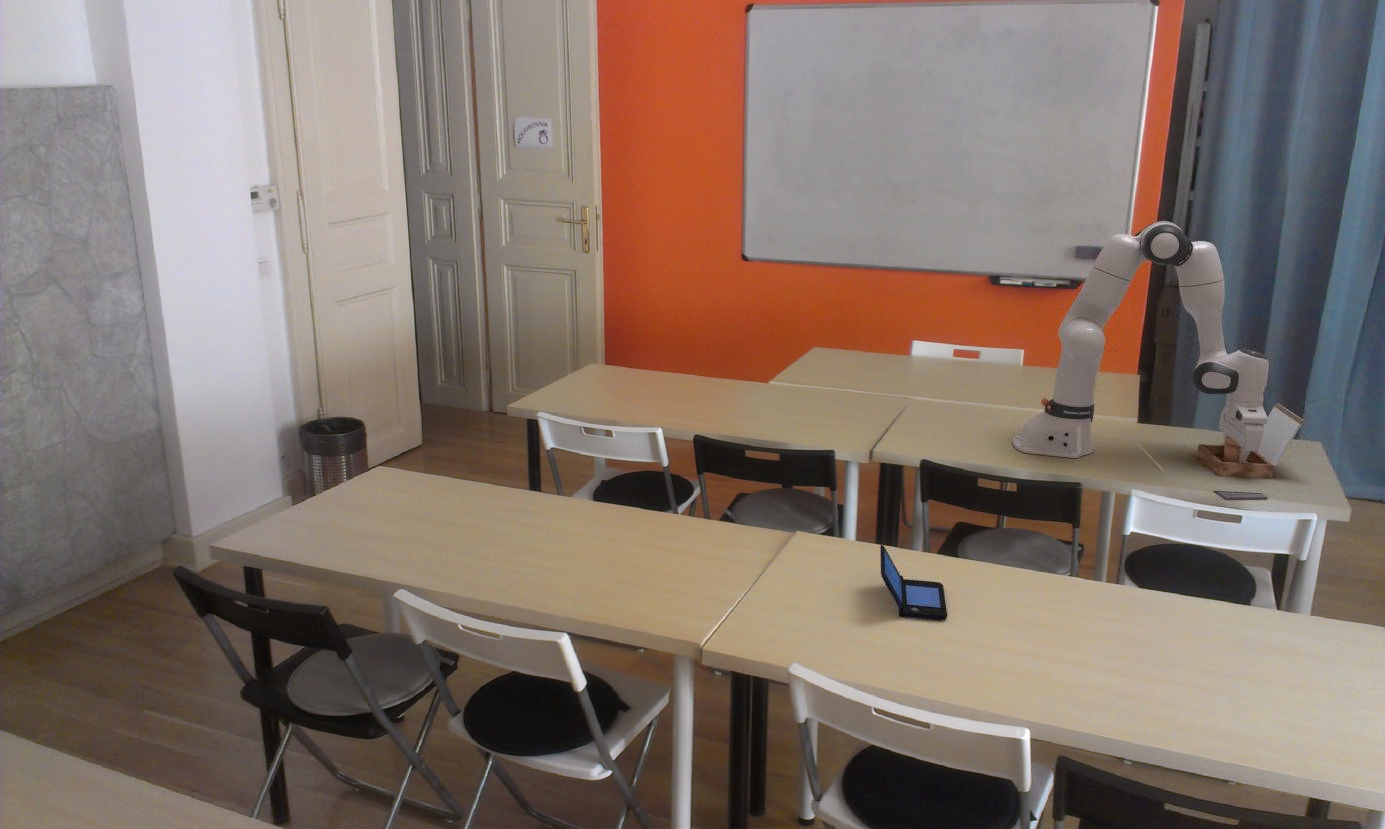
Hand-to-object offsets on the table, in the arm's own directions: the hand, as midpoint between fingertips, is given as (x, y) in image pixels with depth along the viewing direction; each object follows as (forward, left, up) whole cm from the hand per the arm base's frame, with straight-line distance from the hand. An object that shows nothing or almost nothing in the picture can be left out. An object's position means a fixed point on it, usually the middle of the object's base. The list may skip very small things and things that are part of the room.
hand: (1234, 456), depth 285 cm
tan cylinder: (0, 0, -3) cm, 3 cm away
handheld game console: (-96, -93, -4) cm, 134 cm away
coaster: (-6, -18, -4) cm, 19 cm away
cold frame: (0, 0, -4) cm, 4 cm away
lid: (+9, 0, +7) cm, 12 cm away
